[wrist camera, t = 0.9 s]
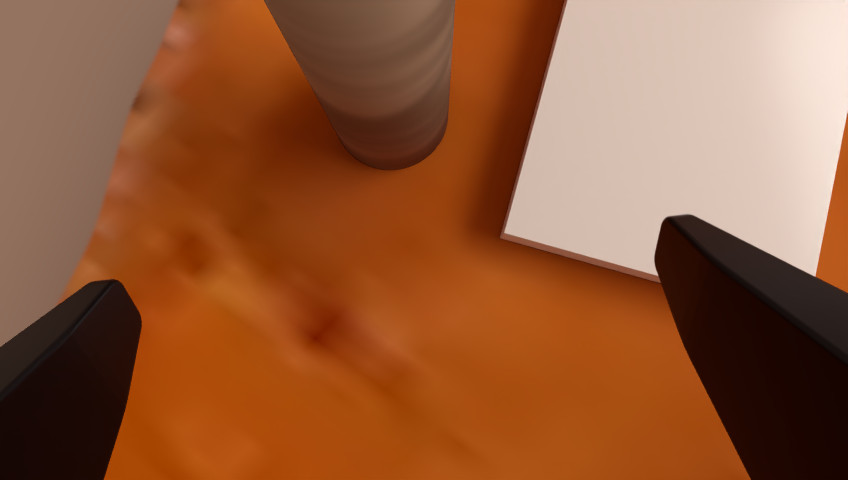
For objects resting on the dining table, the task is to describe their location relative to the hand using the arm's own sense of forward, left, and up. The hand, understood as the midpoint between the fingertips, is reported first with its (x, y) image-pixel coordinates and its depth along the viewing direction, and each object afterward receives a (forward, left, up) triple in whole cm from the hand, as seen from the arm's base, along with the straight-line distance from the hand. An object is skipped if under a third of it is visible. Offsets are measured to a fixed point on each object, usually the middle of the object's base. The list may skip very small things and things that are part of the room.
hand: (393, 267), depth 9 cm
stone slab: (+11, -9, -14) cm, 20 cm away
